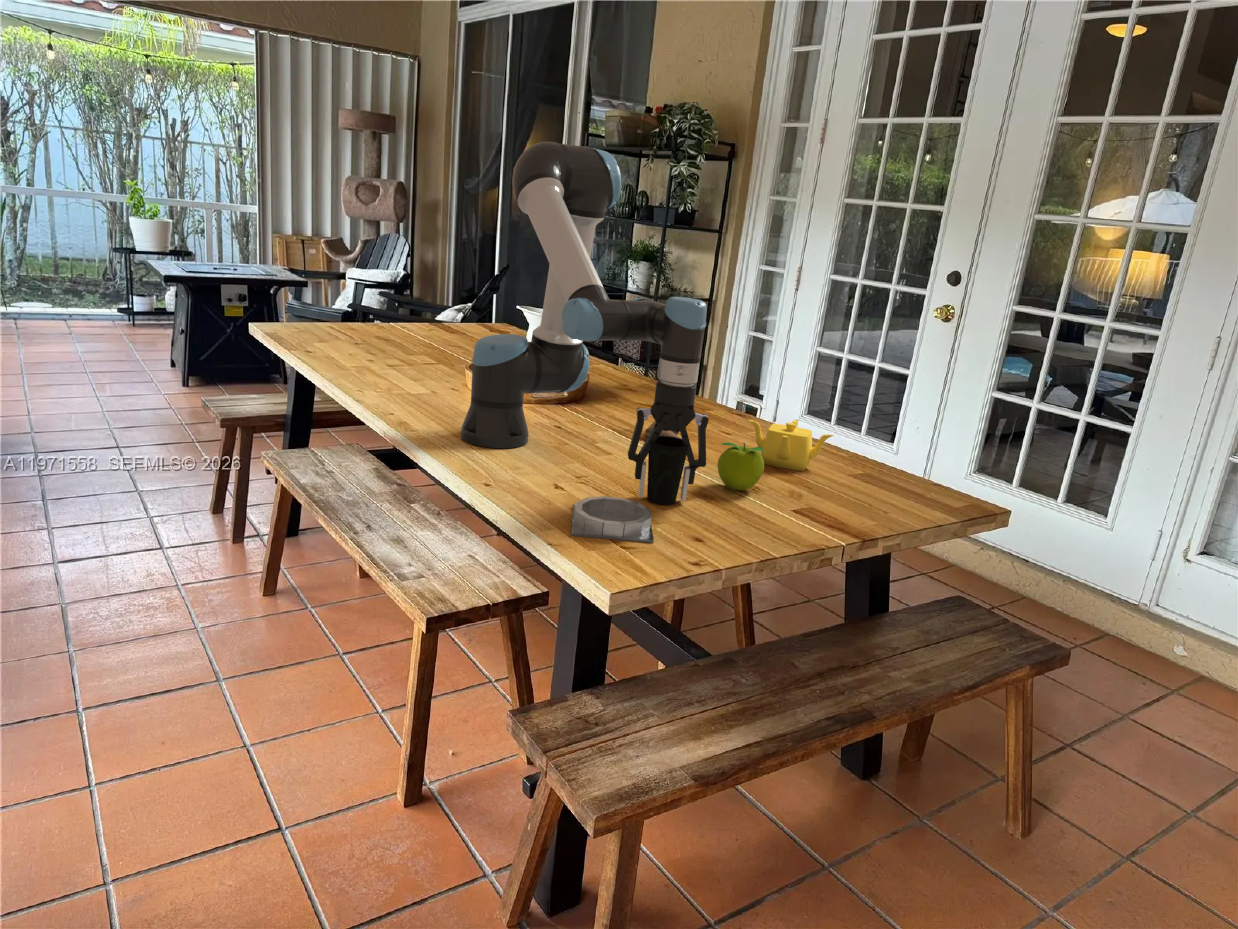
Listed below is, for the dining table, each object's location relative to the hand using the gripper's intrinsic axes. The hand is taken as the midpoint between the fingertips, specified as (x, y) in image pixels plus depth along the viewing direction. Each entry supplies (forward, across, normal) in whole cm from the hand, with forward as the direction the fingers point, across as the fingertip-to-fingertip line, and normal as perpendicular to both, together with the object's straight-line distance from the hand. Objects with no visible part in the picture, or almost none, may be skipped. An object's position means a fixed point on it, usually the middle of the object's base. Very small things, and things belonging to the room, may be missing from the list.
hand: (661, 496), depth 163 cm
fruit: (+1, +17, +12) cm, 21 cm away
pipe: (+1, +6, +44) cm, 44 cm away
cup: (+1, 0, 0) cm, 1 cm away
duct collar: (+1, -10, -15) cm, 18 cm away
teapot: (+1, +32, +35) cm, 47 cm away
